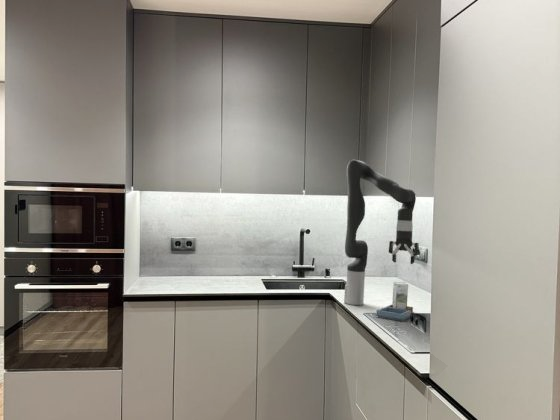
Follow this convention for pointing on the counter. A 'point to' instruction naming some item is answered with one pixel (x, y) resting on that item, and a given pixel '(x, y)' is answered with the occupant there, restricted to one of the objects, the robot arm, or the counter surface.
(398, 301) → the syrup box
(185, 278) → the counter surface
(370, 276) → the counter surface
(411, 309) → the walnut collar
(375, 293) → the counter surface
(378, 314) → the slate tray
